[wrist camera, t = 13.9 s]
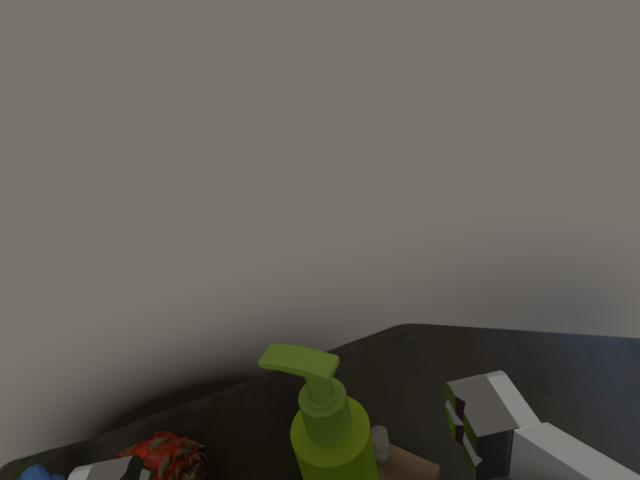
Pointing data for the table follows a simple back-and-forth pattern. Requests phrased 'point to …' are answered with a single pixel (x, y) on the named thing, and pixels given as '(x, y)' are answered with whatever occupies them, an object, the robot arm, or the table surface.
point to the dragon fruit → (171, 457)
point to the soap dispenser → (325, 417)
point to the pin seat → (399, 460)
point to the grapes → (39, 474)
